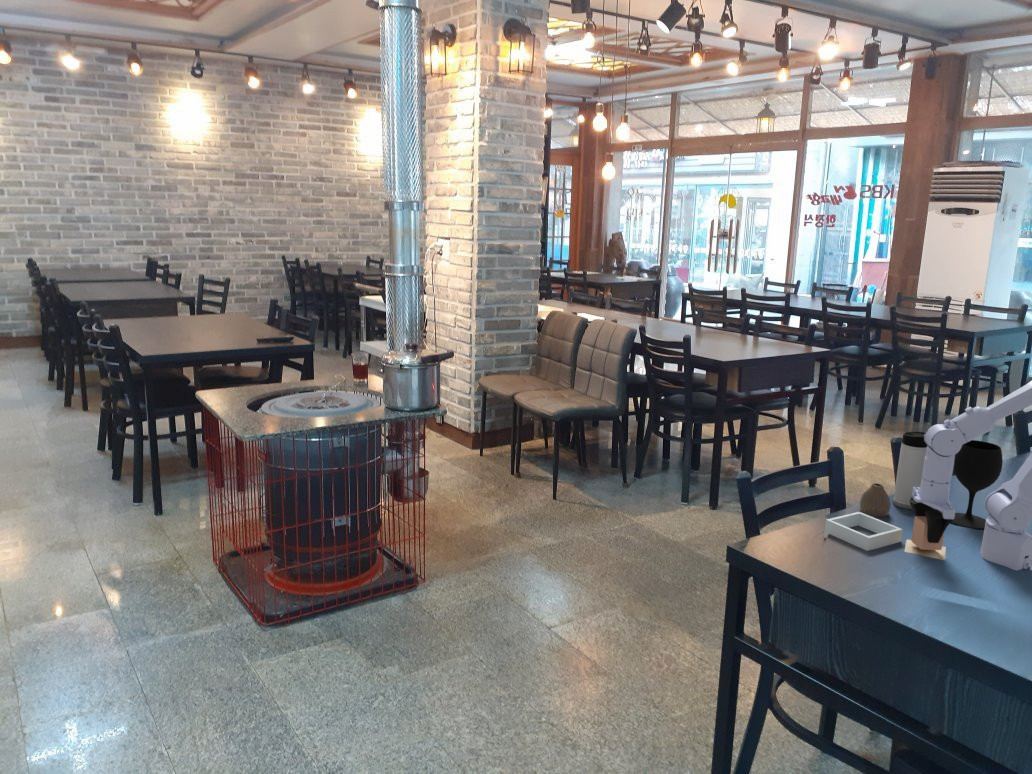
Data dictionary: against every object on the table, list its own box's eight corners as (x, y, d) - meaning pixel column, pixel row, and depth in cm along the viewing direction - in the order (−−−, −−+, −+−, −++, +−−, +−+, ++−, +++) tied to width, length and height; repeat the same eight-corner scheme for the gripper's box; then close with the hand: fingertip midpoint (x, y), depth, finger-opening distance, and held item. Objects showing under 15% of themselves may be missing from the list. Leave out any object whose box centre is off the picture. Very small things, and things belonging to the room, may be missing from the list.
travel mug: (917, 511, 204) (929, 437, 200) (890, 505, 208) (901, 432, 204) (922, 505, 209) (934, 432, 205) (895, 499, 213) (906, 427, 208)
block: (931, 541, 180) (934, 516, 178) (941, 550, 175) (945, 524, 174) (911, 541, 180) (914, 516, 178) (921, 549, 175) (924, 523, 174)
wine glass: (949, 510, 206) (961, 436, 201) (995, 521, 199) (1008, 445, 195) (939, 522, 198) (952, 445, 193) (987, 533, 192) (1001, 454, 187)
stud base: (944, 553, 179) (948, 531, 178) (944, 566, 173) (947, 544, 171) (905, 545, 183) (908, 524, 182) (903, 557, 176) (906, 536, 175)
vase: (856, 519, 198) (861, 486, 196) (859, 510, 204) (864, 478, 202) (887, 525, 195) (892, 491, 193) (889, 516, 201) (893, 483, 199)
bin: (900, 547, 182) (902, 529, 181) (866, 557, 176) (869, 538, 175) (856, 529, 192) (859, 511, 191) (823, 537, 186) (826, 519, 185)
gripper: (902, 468, 181) (894, 524, 184) (935, 490, 167) (925, 550, 170) (933, 469, 181) (924, 525, 184) (968, 491, 167) (958, 551, 170)
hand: (927, 537), depth 177 cm, fingers closed on block, 4 cm apart
